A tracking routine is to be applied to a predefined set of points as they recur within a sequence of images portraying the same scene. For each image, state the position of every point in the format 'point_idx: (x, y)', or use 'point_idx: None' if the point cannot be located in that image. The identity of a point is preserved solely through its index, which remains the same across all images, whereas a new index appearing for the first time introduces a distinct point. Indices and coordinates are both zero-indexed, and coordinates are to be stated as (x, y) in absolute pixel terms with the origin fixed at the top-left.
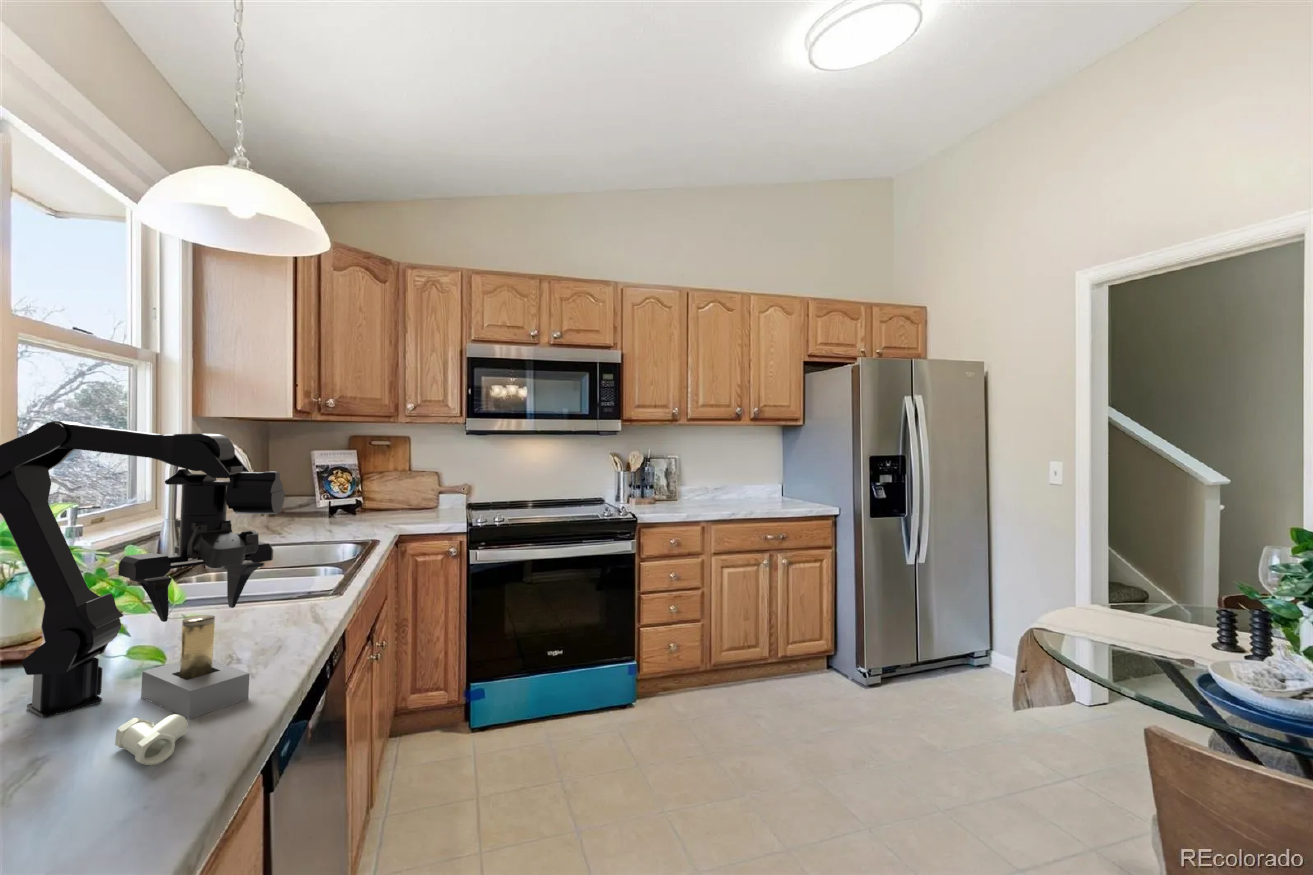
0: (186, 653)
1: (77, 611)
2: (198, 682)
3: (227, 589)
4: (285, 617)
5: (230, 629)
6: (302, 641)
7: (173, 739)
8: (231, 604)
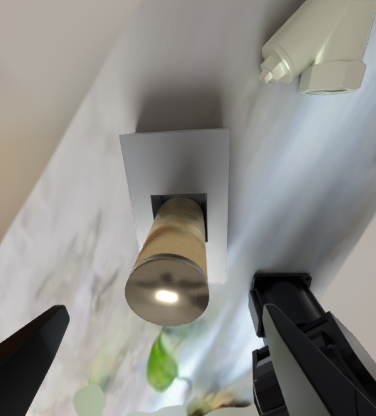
0: (202, 231)
1: None
2: (200, 164)
3: (30, 403)
4: None
5: (72, 377)
6: (8, 291)
7: None
8: (58, 318)
